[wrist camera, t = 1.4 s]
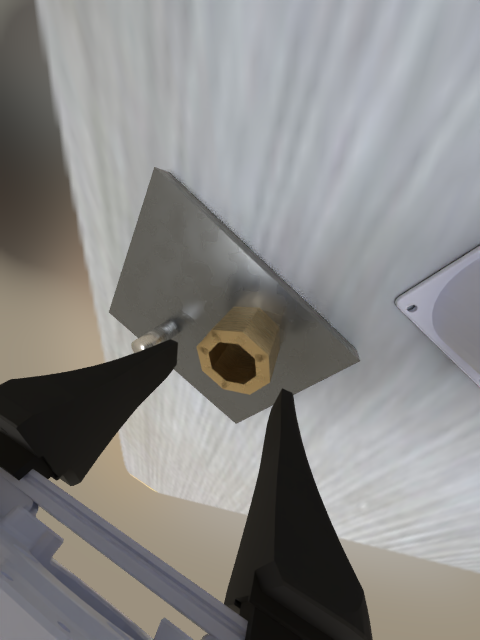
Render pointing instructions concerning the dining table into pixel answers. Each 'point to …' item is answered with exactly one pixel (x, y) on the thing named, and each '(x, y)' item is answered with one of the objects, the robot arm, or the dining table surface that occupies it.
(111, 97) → the dining table surface
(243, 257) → the shaft stand
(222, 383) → the bronze hub
